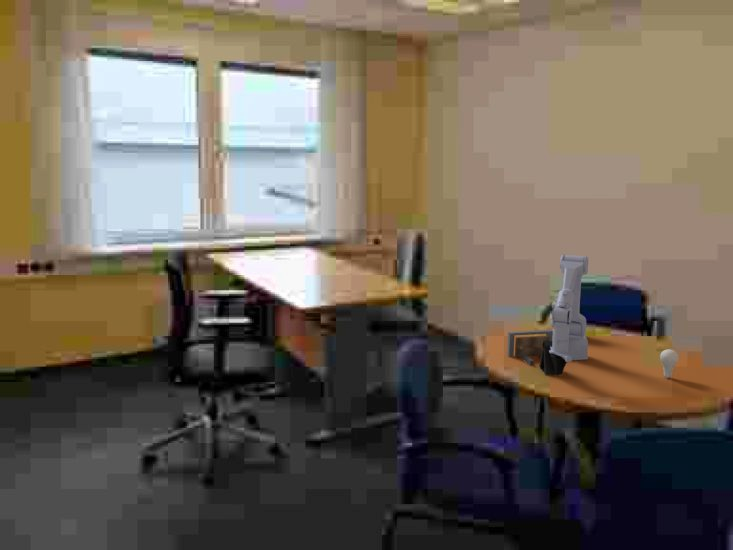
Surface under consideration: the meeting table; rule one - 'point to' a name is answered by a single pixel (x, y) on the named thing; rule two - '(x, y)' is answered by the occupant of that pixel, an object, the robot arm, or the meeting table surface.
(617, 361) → the meeting table surface
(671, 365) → the lightbulb
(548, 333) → the grey picture frame
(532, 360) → the keeper
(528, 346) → the door
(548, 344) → the phone stand
